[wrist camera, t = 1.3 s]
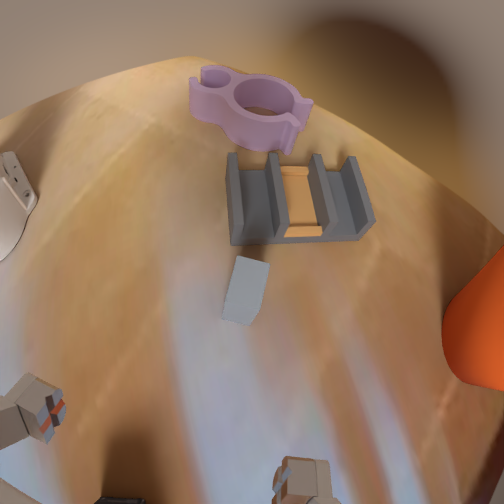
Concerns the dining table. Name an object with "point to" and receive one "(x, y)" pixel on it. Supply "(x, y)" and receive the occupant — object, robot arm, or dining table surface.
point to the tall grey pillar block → (245, 290)
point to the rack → (296, 203)
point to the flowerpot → (478, 328)
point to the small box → (119, 501)
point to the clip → (249, 95)
